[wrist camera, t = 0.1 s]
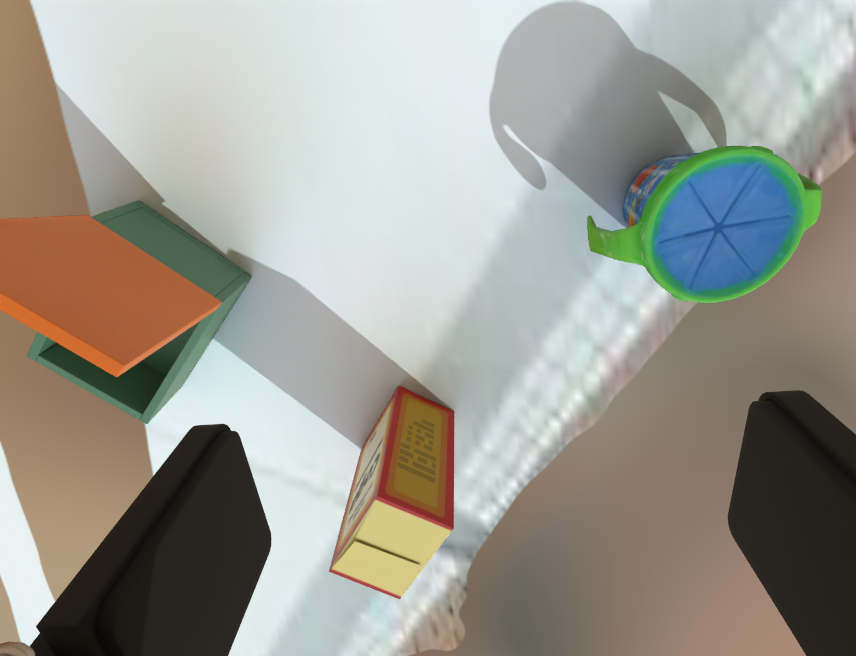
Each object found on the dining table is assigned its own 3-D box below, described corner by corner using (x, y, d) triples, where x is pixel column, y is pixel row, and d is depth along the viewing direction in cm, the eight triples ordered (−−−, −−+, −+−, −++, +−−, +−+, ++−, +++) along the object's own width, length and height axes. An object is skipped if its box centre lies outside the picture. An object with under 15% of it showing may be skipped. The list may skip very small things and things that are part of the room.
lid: (116, 378, 25) (124, 365, 25) (-125, 238, 23) (-117, 224, 23) (217, 309, 41) (222, 301, 41) (82, 223, 38) (87, 214, 38)
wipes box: (182, 386, 53) (146, 424, 47) (78, 324, 51) (26, 356, 45) (252, 276, 48) (222, 303, 41) (138, 199, 45) (88, 217, 39)
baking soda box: (398, 385, 52) (376, 499, 37) (454, 411, 53) (453, 532, 38) (361, 449, 56) (327, 575, 41) (413, 472, 57) (399, 603, 42)
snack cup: (774, 122, 40) (871, 132, 31) (754, 251, 44) (832, 293, 35) (573, 146, 41) (607, 162, 32) (572, 268, 46) (602, 313, 36)
